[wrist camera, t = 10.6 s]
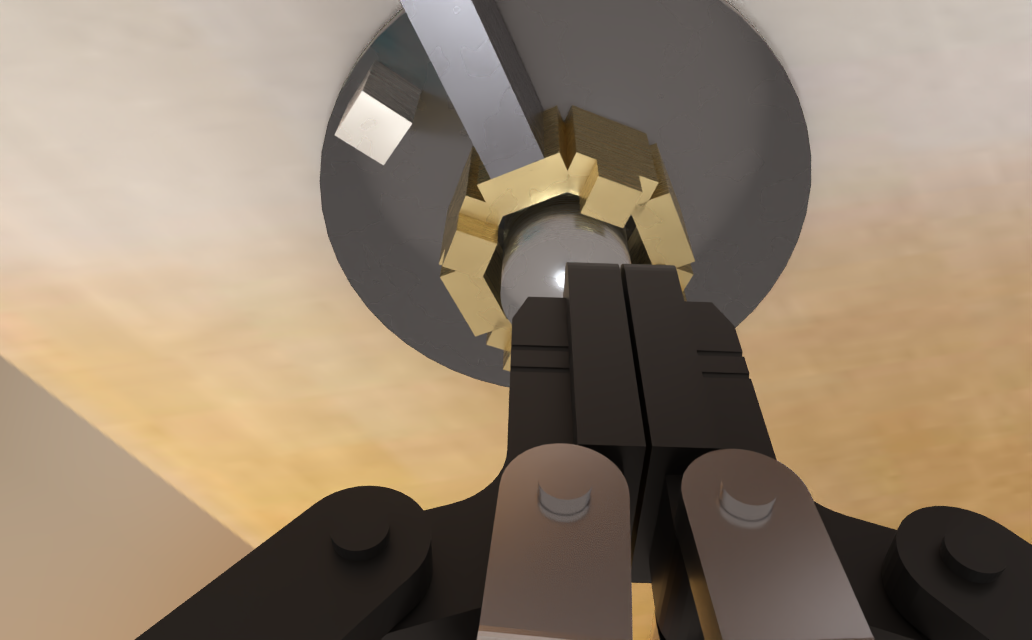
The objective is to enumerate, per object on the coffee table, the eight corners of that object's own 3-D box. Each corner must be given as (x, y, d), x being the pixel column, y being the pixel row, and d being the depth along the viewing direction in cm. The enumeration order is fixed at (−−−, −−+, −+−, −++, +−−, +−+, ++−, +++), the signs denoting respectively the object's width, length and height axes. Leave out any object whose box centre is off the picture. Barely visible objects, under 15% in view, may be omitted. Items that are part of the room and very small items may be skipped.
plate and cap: (843, 306, 39) (894, 411, 33) (449, 422, 44) (436, 530, 38) (741, -150, 28) (792, -108, 22) (228, 72, 33) (166, 153, 27)
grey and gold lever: (700, 263, 36) (722, 339, 32) (508, 329, 38) (505, 407, 34) (525, -209, 26) (524, -188, 22) (277, -81, 28) (233, -39, 24)
